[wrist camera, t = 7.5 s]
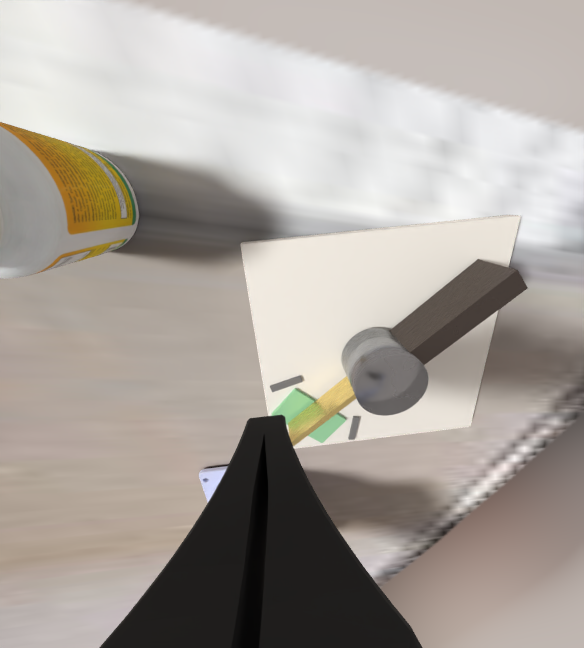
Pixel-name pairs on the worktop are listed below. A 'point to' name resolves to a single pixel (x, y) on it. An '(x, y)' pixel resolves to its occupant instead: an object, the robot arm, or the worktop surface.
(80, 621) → the worktop surface
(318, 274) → the board
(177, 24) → the worktop surface
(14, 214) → the supplement bottle
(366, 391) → the dial pointer
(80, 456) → the worktop surface
